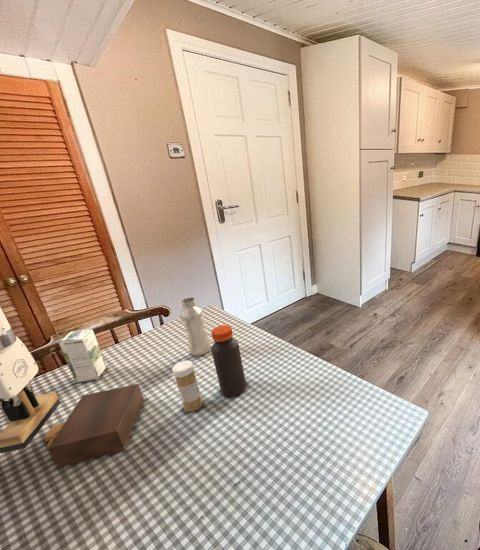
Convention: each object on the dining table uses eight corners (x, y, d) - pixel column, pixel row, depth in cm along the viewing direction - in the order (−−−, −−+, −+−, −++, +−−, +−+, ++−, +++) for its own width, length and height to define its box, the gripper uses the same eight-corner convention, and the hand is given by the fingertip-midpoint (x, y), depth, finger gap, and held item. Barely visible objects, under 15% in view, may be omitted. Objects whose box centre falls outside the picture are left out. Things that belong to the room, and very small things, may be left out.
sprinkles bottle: (186, 401, 83) (175, 361, 78) (205, 398, 84) (194, 358, 79) (181, 414, 79) (169, 372, 74) (200, 411, 80) (189, 369, 75)
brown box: (52, 469, 65) (41, 449, 63) (86, 414, 79) (77, 396, 77) (124, 450, 69) (116, 431, 67) (144, 400, 83) (138, 383, 81)
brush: (25, 448, 63) (5, 413, 60) (0, 453, 62) (-22, 419, 58) (61, 403, 74) (45, 371, 71) (40, 407, 73) (23, 375, 70)
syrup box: (85, 371, 95) (68, 331, 89) (107, 367, 96) (92, 328, 91) (75, 383, 90) (56, 342, 84) (99, 379, 91) (82, 338, 86)
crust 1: (64, 433, 72) (66, 437, 73) (73, 420, 76) (75, 424, 76) (43, 438, 71) (45, 442, 71) (53, 425, 74) (55, 428, 75)
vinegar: (215, 395, 85) (201, 334, 78) (231, 379, 91) (219, 321, 84) (236, 399, 84) (224, 338, 76) (251, 383, 90) (240, 324, 82)
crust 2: (60, 456, 68) (53, 458, 67) (69, 442, 71) (62, 443, 71) (53, 444, 66) (46, 445, 66) (62, 429, 70) (56, 431, 69)
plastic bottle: (216, 347, 106) (204, 296, 98) (201, 359, 100) (188, 306, 92) (200, 345, 108) (188, 294, 100) (185, 356, 101) (171, 303, 94)
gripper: (-18, 363, 54) (24, 438, 61) (35, 320, 68) (65, 384, 75) (-78, 373, 52) (-26, 449, 58) (-10, 326, 66) (26, 392, 72)
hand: (25, 412), depth 67 cm, fingers closed on brush, 2 cm apart
